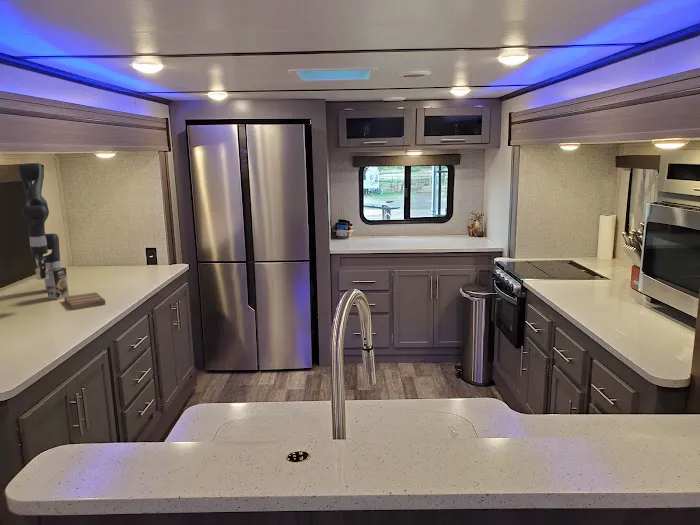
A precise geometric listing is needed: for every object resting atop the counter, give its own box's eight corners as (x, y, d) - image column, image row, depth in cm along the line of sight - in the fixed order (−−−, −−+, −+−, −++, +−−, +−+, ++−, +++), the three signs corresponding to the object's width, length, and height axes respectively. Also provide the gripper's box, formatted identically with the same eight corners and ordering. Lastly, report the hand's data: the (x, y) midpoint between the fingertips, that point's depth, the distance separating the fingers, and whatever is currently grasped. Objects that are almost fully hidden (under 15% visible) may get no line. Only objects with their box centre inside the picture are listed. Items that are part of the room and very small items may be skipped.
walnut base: (64, 301, 297) (64, 296, 297) (96, 296, 307) (95, 292, 306) (72, 309, 282) (71, 304, 281) (105, 304, 291) (105, 299, 291)
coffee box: (58, 299, 300) (54, 271, 297) (47, 299, 302) (44, 270, 298) (69, 295, 309) (66, 267, 306) (59, 294, 310) (56, 267, 307)
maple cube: (36, 278, 284) (35, 268, 283) (47, 276, 287) (46, 267, 286) (37, 279, 280) (36, 270, 279) (48, 278, 283) (47, 269, 282)
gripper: (28, 243, 283) (32, 275, 287) (32, 247, 272) (36, 280, 276) (44, 241, 288) (48, 273, 291) (49, 245, 277) (53, 278, 280)
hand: (42, 276), depth 284 cm, fingers closed on maple cube, 5 cm apart
